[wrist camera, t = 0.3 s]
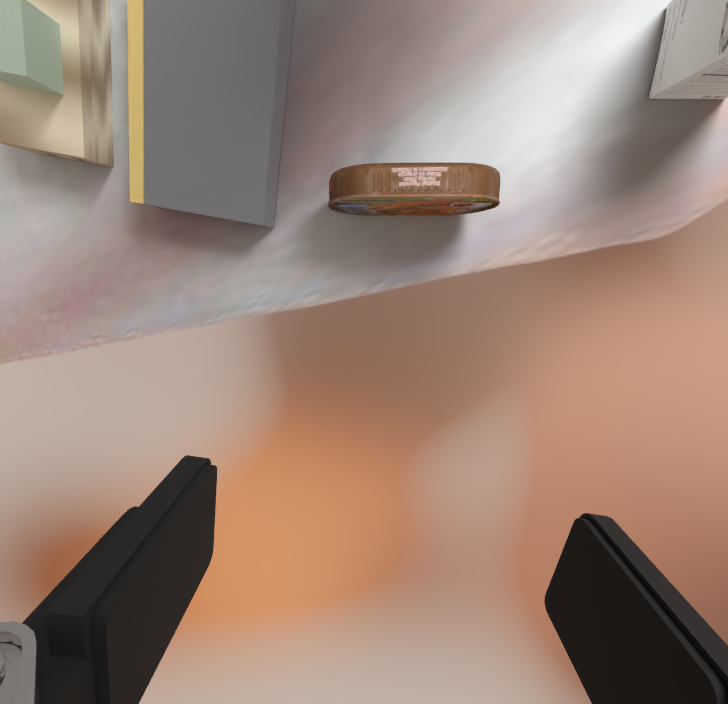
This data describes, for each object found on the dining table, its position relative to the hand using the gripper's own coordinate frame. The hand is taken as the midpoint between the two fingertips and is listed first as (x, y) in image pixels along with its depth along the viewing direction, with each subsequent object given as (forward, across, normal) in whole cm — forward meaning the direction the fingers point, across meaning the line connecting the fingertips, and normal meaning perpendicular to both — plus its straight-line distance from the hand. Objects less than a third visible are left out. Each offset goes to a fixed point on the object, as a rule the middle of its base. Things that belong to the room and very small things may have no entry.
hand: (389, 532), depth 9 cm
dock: (+31, +18, -18) cm, 39 cm away
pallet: (+31, +32, -18) cm, 48 cm away
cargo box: (+27, +32, -18) cm, 45 cm away
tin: (+31, -1, -12) cm, 34 cm away
